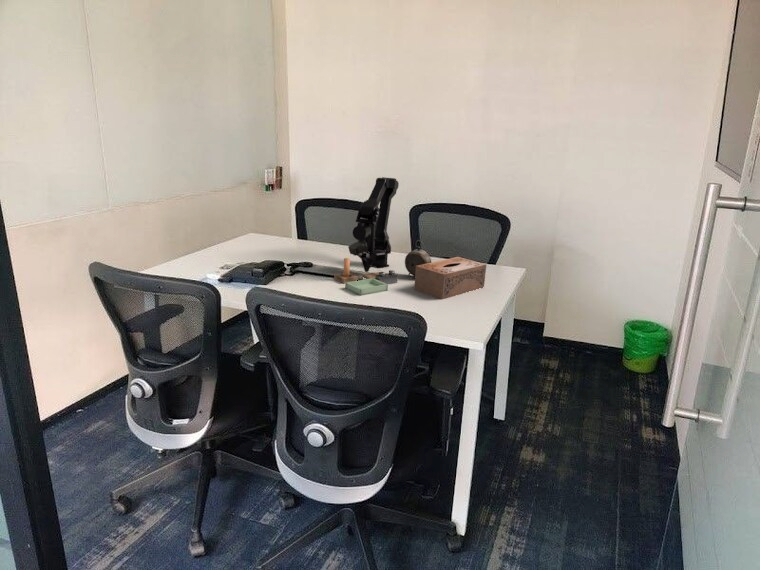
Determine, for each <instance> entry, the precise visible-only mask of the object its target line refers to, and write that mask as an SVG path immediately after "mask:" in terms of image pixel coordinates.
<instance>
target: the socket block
mask: <svg viewBox="0 0 760 570" xmlns="http://www.w3.org/2000/svg"><path fill="white" fill-rule="evenodd" d="M343 273H344V272H343ZM343 273H337V274H336V273H335V274H333V276H334V277H333V278H334V280H335V281H337V282H339V283H342V284H343V285H344V284H345V283H346V282H352V281H357V280H359V276H358V275H355V274H353V273H351V272H349V277H343Z"/></svg>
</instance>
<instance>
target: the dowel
mask: <svg viewBox="0 0 760 570" xmlns="http://www.w3.org/2000/svg"><path fill="white" fill-rule="evenodd" d="M350 264H351V258H349V257H345V258H343V277H349V273H351V272H350V268H351V267H350V266H351V265H350Z"/></svg>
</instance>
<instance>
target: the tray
mask: <svg viewBox="0 0 760 570" xmlns="http://www.w3.org/2000/svg"><path fill="white" fill-rule="evenodd" d="M388 288H389V284H385V283H383V282H381V281H378V280H376V279H374V278H370V279H364V280H363V279H358V281H352V282H346V283H345V290H347V291H350V292H351V293H354V294H356V295H358V296H359V297H360V296H365V295H371V294H376V293H377V294H378V293H382V292H387V291H389V290H388Z"/></svg>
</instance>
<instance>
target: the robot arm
mask: <svg viewBox="0 0 760 570" xmlns="http://www.w3.org/2000/svg"><path fill="white" fill-rule="evenodd" d="M398 189H399V181H398V180H397V178H394V177H385V176H384V177H383V176H382V177H376V179H375V184H374V187H373V189H372V191H371V193H370V195H369V196H368V199H366V200H364V202H362V204H361V205H360V207H359V209H358V212H357V216H356V219H355V223H357V225H356V226H355V227H353V228H352V237H353V238H354V239H355V240H356V242H353V243H352V244H350V245H348V251H349V253H350V255H353V256H356V257H359V259H360V260H361V263H362V266H363V270H364V272H365V273H368V272H369V271H370V269H371V267H372V266H373V267H375V268H385V267H389V266H390V264H388V255H389V254H392V253H391V252H392V245H391V243H390V237H389V234H388V232H387V230H388V223H389V216H390V211H391V205H392V199H393V198H394V196H395V195H396V194H397V191H398Z"/></svg>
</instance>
